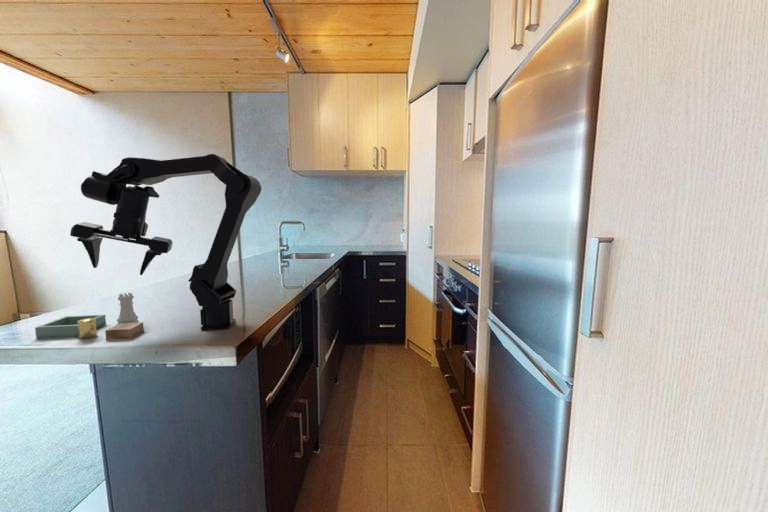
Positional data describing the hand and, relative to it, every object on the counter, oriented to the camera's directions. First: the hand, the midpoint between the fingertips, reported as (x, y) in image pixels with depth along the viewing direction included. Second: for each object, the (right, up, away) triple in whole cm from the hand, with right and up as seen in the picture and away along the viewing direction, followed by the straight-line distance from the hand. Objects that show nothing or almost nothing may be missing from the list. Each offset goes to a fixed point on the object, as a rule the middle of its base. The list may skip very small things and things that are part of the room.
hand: (118, 271), depth 78 cm
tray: (-9, -14, -2) cm, 17 cm away
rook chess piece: (0, -14, +2) cm, 14 cm away
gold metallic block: (-1, -15, -7) cm, 16 cm away
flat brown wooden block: (+6, -15, -5) cm, 17 cm away
